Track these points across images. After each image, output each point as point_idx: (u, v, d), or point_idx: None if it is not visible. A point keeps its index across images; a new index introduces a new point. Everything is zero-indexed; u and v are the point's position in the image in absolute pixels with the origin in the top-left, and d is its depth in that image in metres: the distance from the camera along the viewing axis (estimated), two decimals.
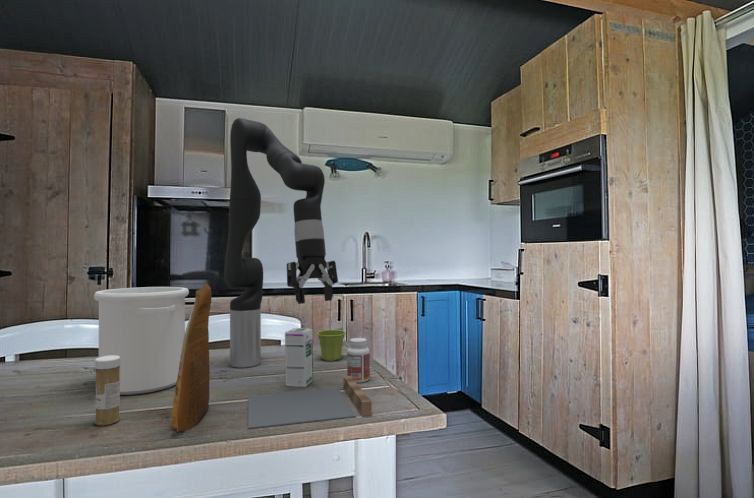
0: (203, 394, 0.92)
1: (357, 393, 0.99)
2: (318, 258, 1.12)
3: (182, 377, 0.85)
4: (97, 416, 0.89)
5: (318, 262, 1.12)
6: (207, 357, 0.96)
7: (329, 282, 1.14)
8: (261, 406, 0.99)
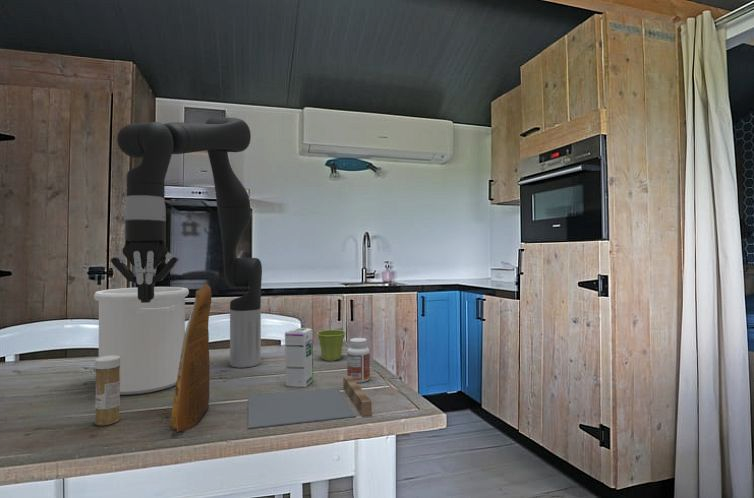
0: (203, 394, 0.92)
1: (357, 393, 0.99)
2: (151, 243, 0.90)
3: (182, 377, 0.85)
4: (97, 416, 0.89)
5: (151, 248, 0.90)
6: (207, 357, 0.96)
7: (146, 280, 0.90)
8: (261, 406, 0.99)
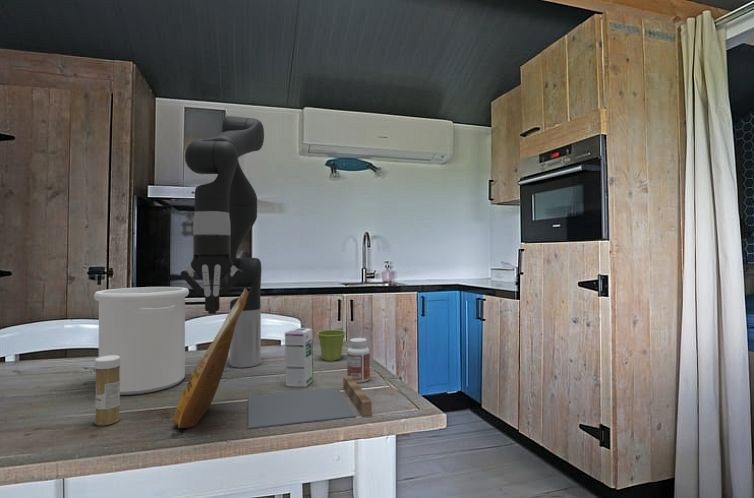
0: (211, 396, 0.92)
1: (357, 393, 0.99)
2: (217, 256, 0.94)
3: (200, 377, 0.86)
4: (97, 416, 0.89)
5: (218, 262, 0.94)
6: (225, 360, 0.96)
7: (213, 292, 0.94)
8: (261, 406, 0.99)
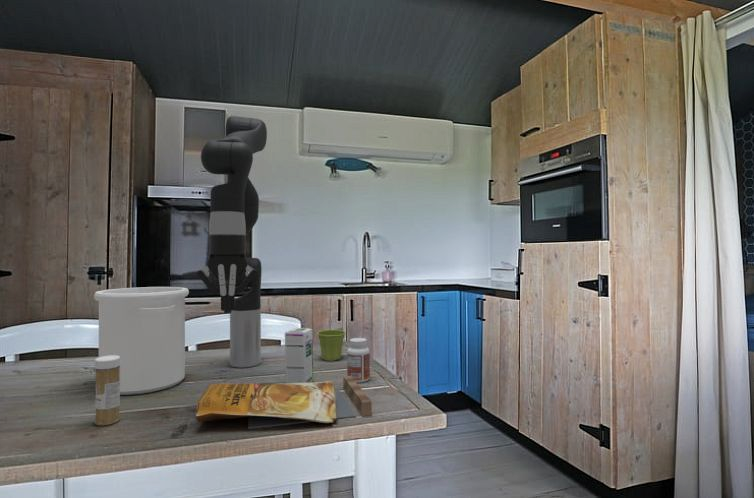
0: None
1: (357, 393, 0.99)
2: (233, 256, 0.95)
3: (252, 415, 0.87)
4: (97, 416, 0.89)
5: (233, 261, 0.95)
6: None
7: (229, 291, 0.94)
8: None
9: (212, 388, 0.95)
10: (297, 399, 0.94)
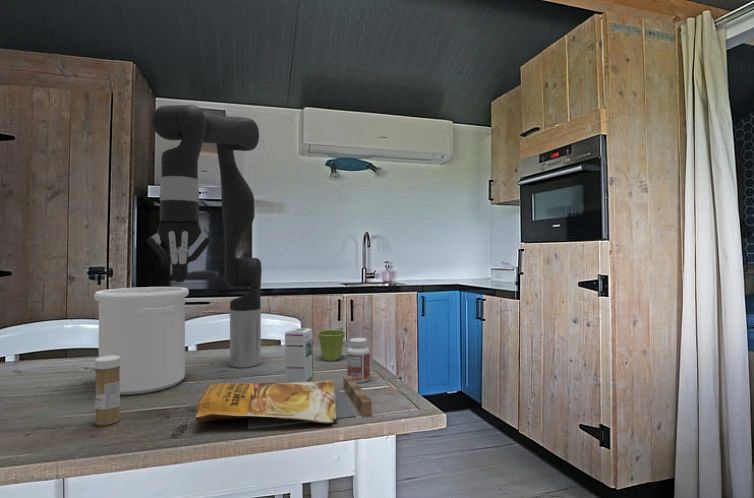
0: None
1: (357, 393, 0.99)
2: (185, 223, 0.92)
3: (251, 415, 0.87)
4: (97, 416, 0.89)
5: (185, 229, 0.92)
6: None
7: (180, 260, 0.91)
8: None
9: (212, 388, 0.95)
10: (296, 399, 0.94)
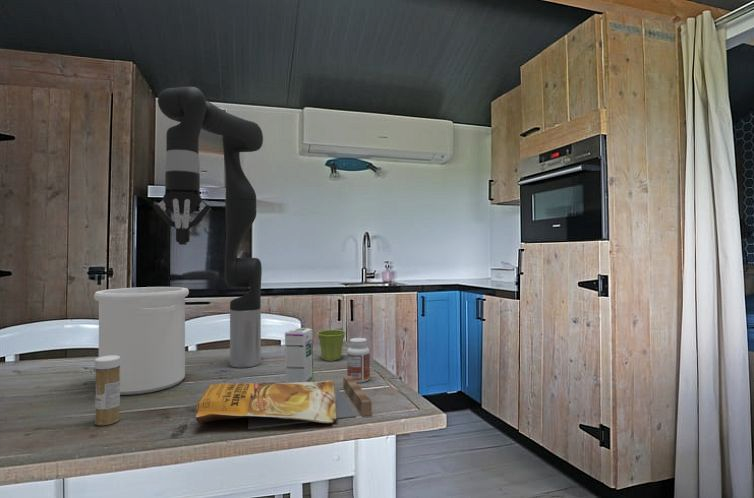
0: None
1: (357, 393, 0.99)
2: (187, 192, 1.03)
3: (251, 415, 0.87)
4: (97, 416, 0.89)
5: (187, 197, 1.03)
6: None
7: (183, 224, 1.03)
8: None
9: (212, 388, 0.95)
10: (296, 399, 0.94)
